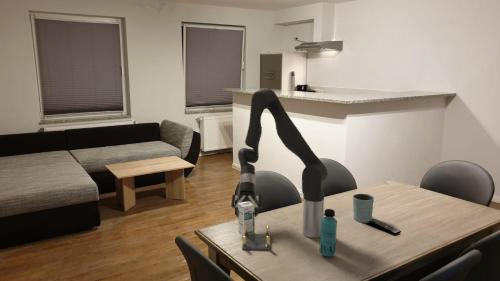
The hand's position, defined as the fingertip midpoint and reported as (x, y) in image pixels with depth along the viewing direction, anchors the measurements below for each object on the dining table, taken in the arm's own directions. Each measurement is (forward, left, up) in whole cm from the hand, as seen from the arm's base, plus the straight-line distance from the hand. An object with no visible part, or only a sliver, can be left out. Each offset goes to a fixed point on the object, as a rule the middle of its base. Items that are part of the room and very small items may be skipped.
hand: (246, 216), depth 171 cm
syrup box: (0, 0, -9) cm, 9 cm away
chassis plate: (-8, +8, -8) cm, 14 cm away
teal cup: (-49, -35, -9) cm, 61 cm away
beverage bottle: (-39, +8, -9) cm, 41 cm away
